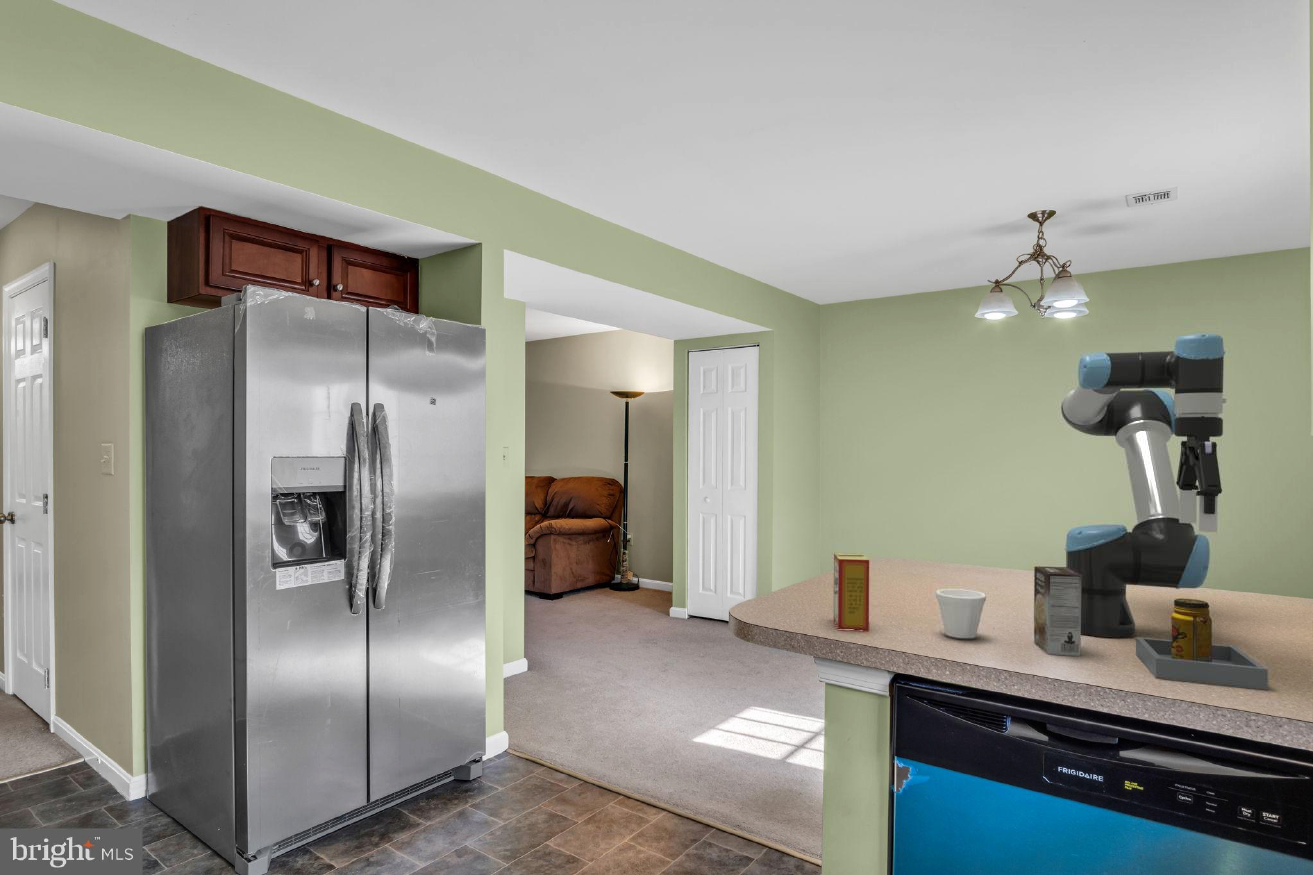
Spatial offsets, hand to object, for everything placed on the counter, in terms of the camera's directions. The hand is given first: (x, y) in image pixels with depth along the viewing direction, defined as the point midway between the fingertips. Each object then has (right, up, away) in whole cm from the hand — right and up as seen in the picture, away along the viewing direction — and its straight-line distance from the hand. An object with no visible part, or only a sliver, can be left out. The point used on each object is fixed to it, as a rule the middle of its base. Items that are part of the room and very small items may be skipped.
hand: (1197, 527), depth 142 cm
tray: (-4, -26, -6) cm, 27 cm away
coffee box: (-23, -26, +8) cm, 35 cm away
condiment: (-4, -25, -6) cm, 26 cm away
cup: (-38, -26, +17) cm, 49 cm away
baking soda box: (-59, -26, +26) cm, 70 cm away
